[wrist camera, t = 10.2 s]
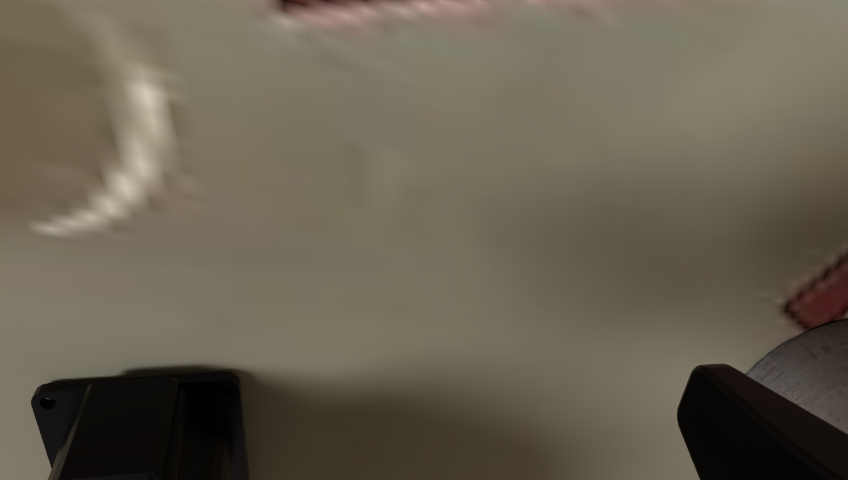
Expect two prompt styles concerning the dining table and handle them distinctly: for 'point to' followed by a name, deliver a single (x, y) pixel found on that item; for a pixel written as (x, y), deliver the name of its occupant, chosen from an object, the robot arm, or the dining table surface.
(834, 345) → the pillar candle
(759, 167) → the dining table surface
